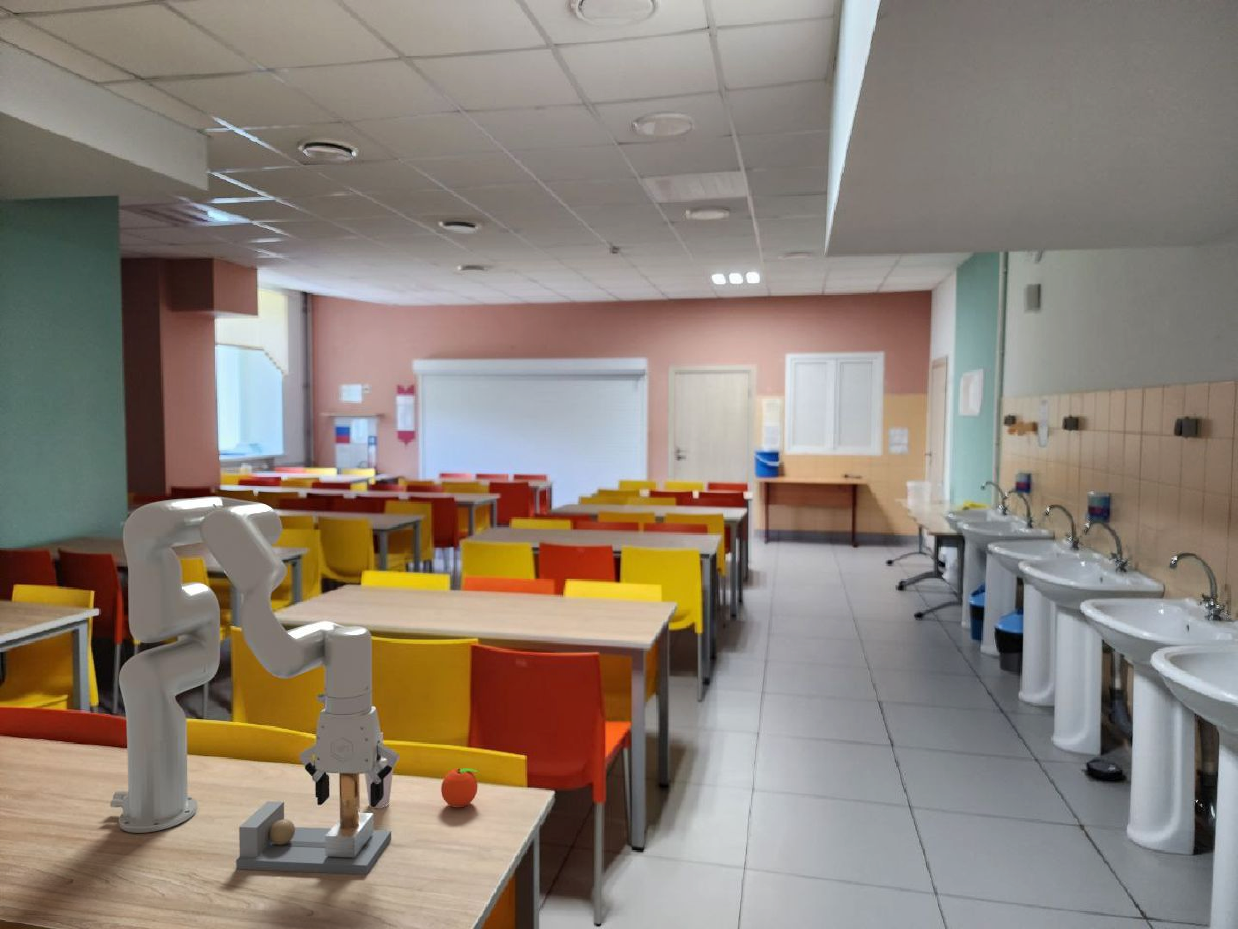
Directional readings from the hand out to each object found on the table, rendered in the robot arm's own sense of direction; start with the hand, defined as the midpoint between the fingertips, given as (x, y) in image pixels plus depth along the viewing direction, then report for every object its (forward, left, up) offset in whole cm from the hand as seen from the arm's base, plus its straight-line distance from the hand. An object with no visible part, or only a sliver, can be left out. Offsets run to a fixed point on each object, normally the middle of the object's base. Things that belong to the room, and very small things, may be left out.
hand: (349, 802), depth 131 cm
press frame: (-6, 0, -9) cm, 11 cm away
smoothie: (-2, +18, -9) cm, 20 cm away
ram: (0, 0, -7) cm, 7 cm away
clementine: (+14, +19, -9) cm, 25 cm away
